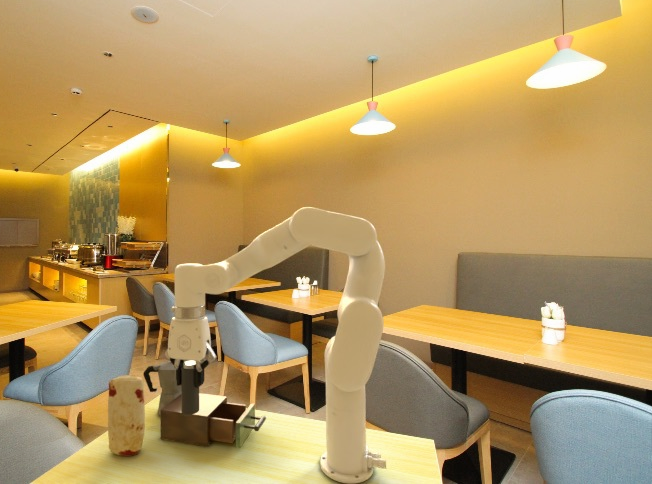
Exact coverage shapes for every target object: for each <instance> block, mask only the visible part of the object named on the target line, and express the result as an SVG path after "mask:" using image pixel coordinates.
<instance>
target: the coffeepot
mask: <svg viewBox="0 0 652 484" xmlns="http://www.w3.org/2000/svg"><path fill="white" fill-rule="evenodd" d="M150 373H157V374H158V380H159V388H161V393H160V396H159V403H158V409H157V415H158V416H160V410H161V409H162V408H163V407H165V406H166V405H167V404H169V403H170V402H171V401H173V400H174V399H175V398H177V397H178V396H179V395H180V394H181V385H180V386H177V380H176V369H174V365H173V364H172V363H171V361H170V360H168V361H164V362H160V363H159V364H155V365H149V366H147V367H146V369H145V370H144V371H143V378H144V380H145V382H146V385H147V387H148V390H149V392H150V393H156V392H157V391H158V387H155V388H154V387H153V382H152V380H151V374H150Z"/></svg>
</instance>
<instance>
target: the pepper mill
mask: <svg viewBox="0 0 652 484" xmlns="http://www.w3.org/2000/svg"><path fill="white" fill-rule="evenodd" d="M196 371H197V367H196V363H195V361H192V360H185V361H184V363H183V366H182V368H181V412H182V413H183V414H185V415H191V414H195V413H197V412H198V411H199V393H200V387H199V388H196V387H195V372H196Z"/></svg>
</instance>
